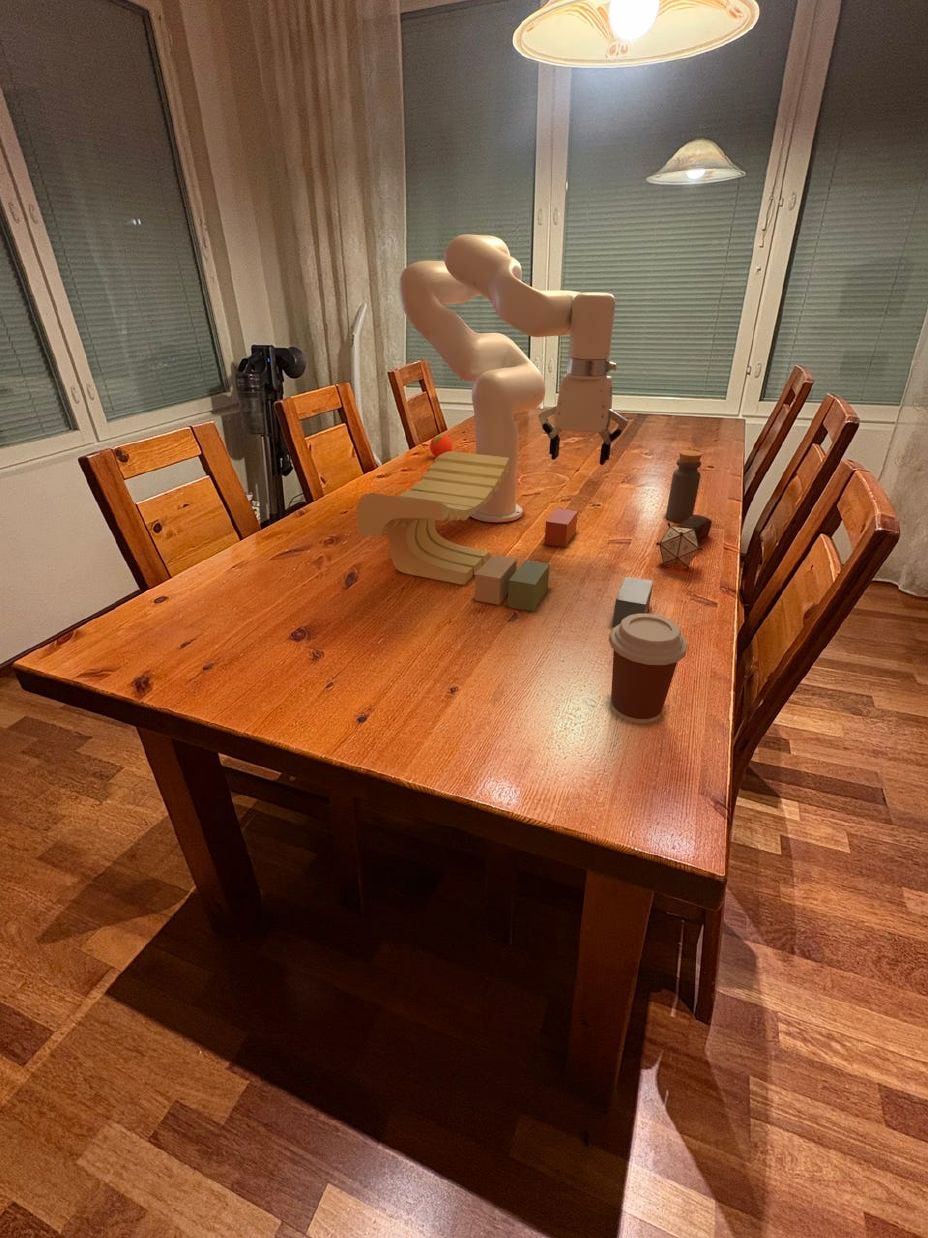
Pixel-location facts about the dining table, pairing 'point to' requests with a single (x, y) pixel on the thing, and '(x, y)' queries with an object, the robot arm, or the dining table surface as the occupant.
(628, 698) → the coffee cup
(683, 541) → the game die
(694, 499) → the bottle
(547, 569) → the block
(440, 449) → the tomato
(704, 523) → the brick
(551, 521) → the loose block
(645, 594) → the block
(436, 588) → the dining table surface
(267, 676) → the dining table surface
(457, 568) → the slatted curved stool
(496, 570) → the block
